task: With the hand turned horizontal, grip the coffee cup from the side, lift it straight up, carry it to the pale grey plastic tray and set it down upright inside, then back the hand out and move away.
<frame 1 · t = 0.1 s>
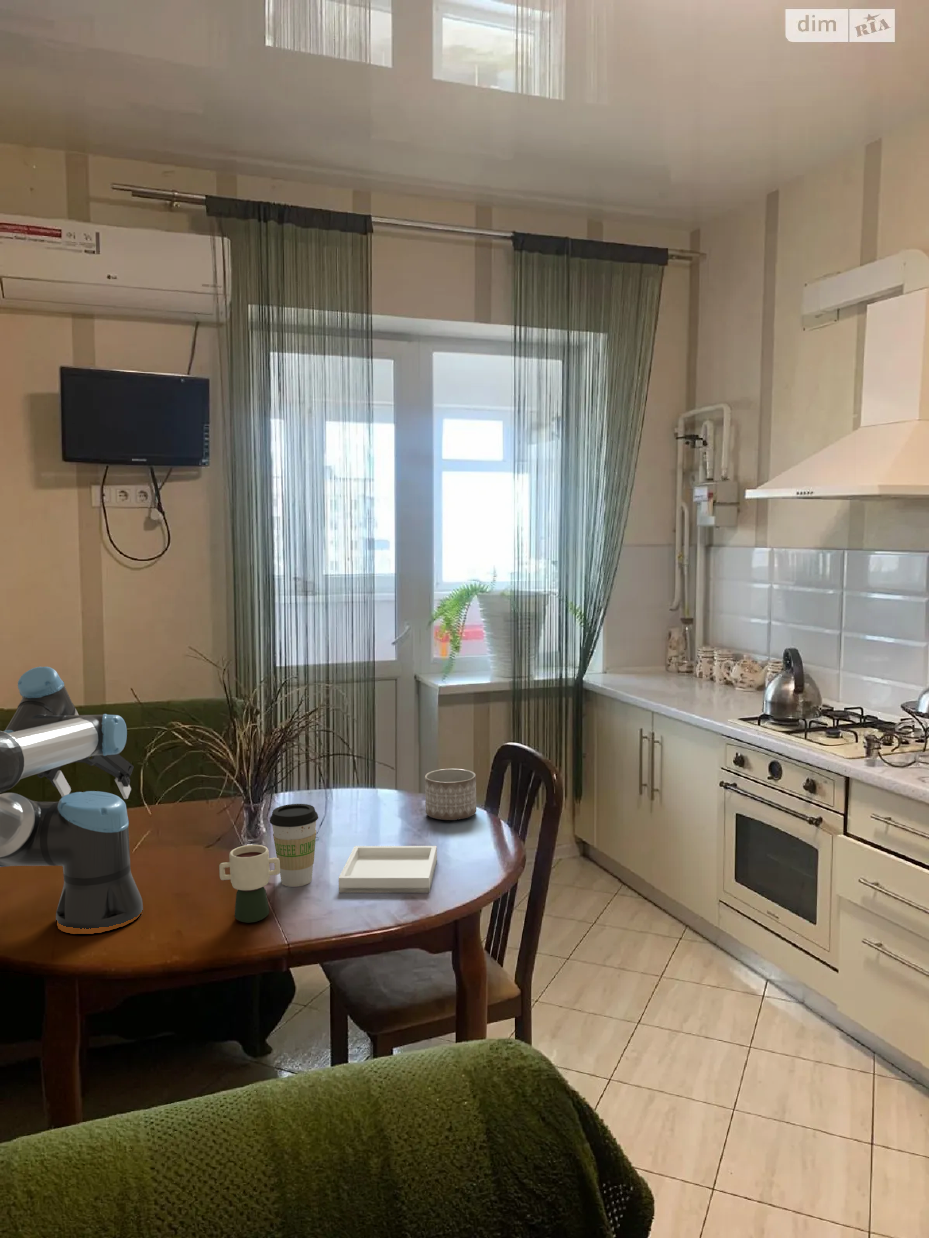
hand: (97, 794, 197), 15 cm above the table, fingers open, 13 cm apart
character mug: (252, 919, 167), on the table
planter: (451, 816, 225), on the table
coffee cup: (296, 881, 185), on the table
tray: (390, 875, 187), on the table
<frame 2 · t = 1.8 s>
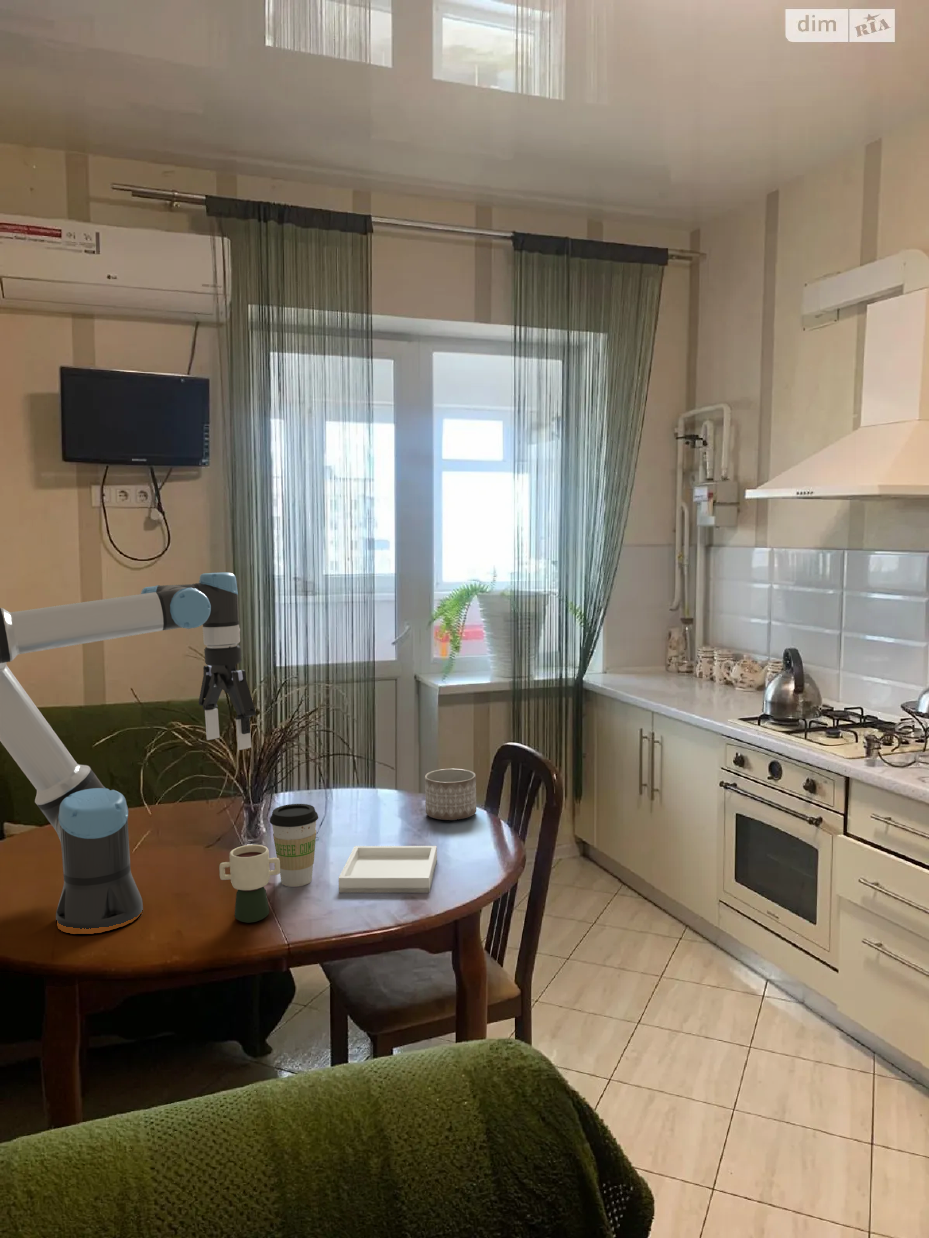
hand: (228, 743, 192), 27 cm above the table, fingers open, 13 cm apart
nothing on the table moved.
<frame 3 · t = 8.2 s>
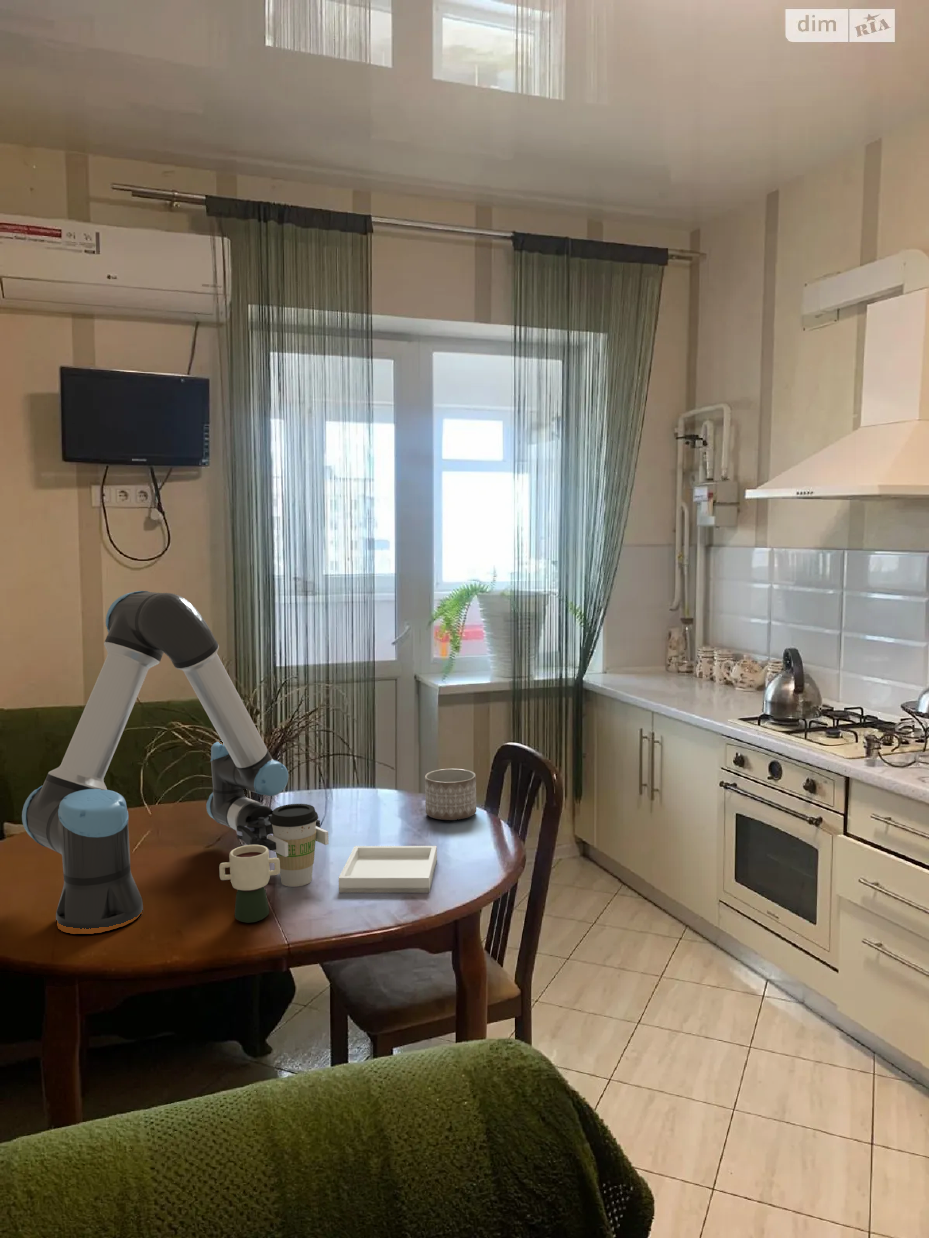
hand: (306, 843, 181), 9 cm above the table, fingers closed on coffee cup, 9 cm apart
coffee cup: (296, 881, 185), on the table, touching gripper
everything else where it was.
when the fingers open (11 cm above the table, at t = 14.2 s): coffee cup drops 1 cm, resting on tray.
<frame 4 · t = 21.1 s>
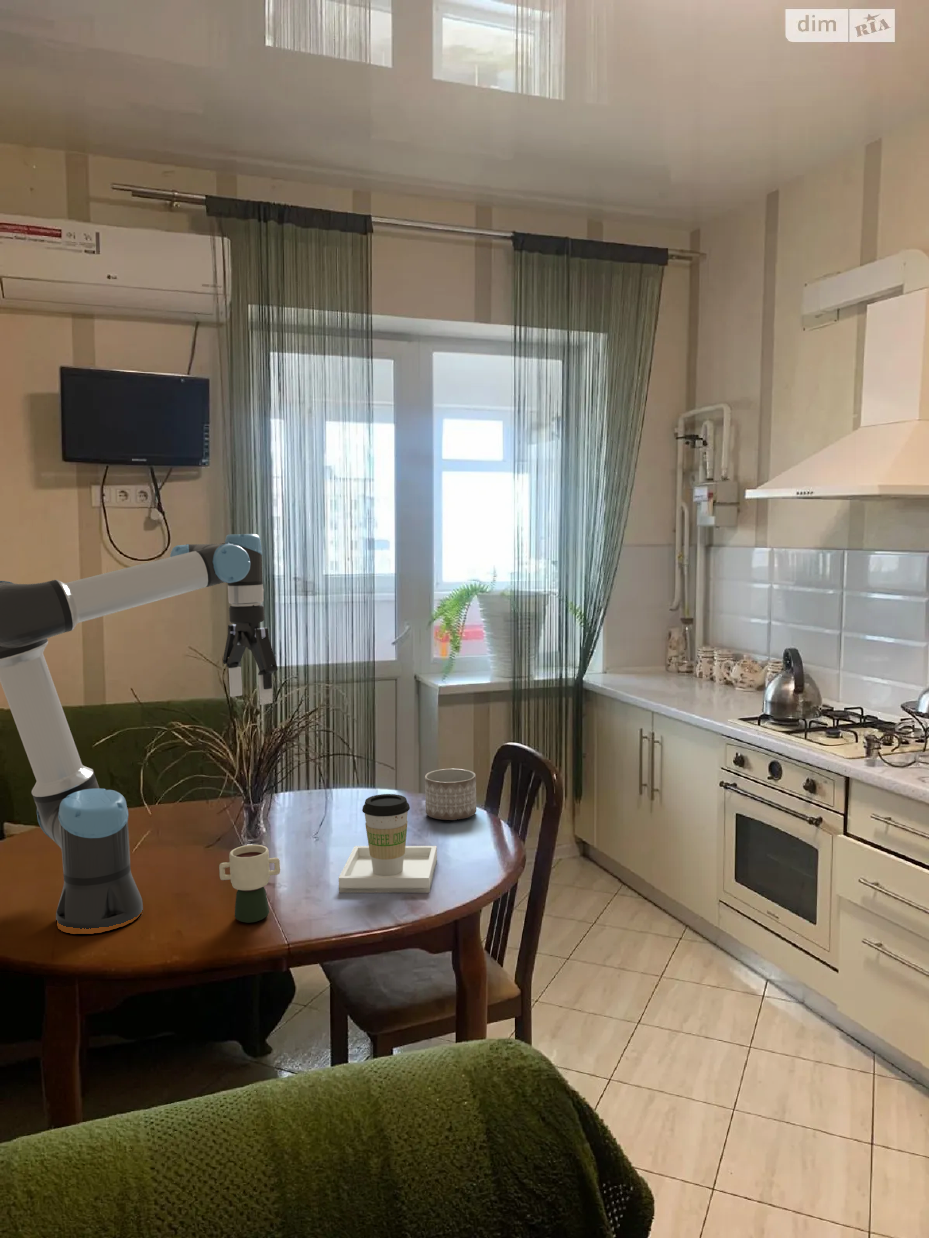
hand: (250, 699, 199), 35 cm above the table, fingers open, 13 cm apart
coffee cup: (387, 871, 187), point 1 cm above the table, touching tray
everything else where it was.
at the end: coffee cup inside the target area on the tray (0.5 cm from its centre), point 0.8 cm above the tray's base; coffee cup tilted 0°; the gripper is holding nothing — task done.
